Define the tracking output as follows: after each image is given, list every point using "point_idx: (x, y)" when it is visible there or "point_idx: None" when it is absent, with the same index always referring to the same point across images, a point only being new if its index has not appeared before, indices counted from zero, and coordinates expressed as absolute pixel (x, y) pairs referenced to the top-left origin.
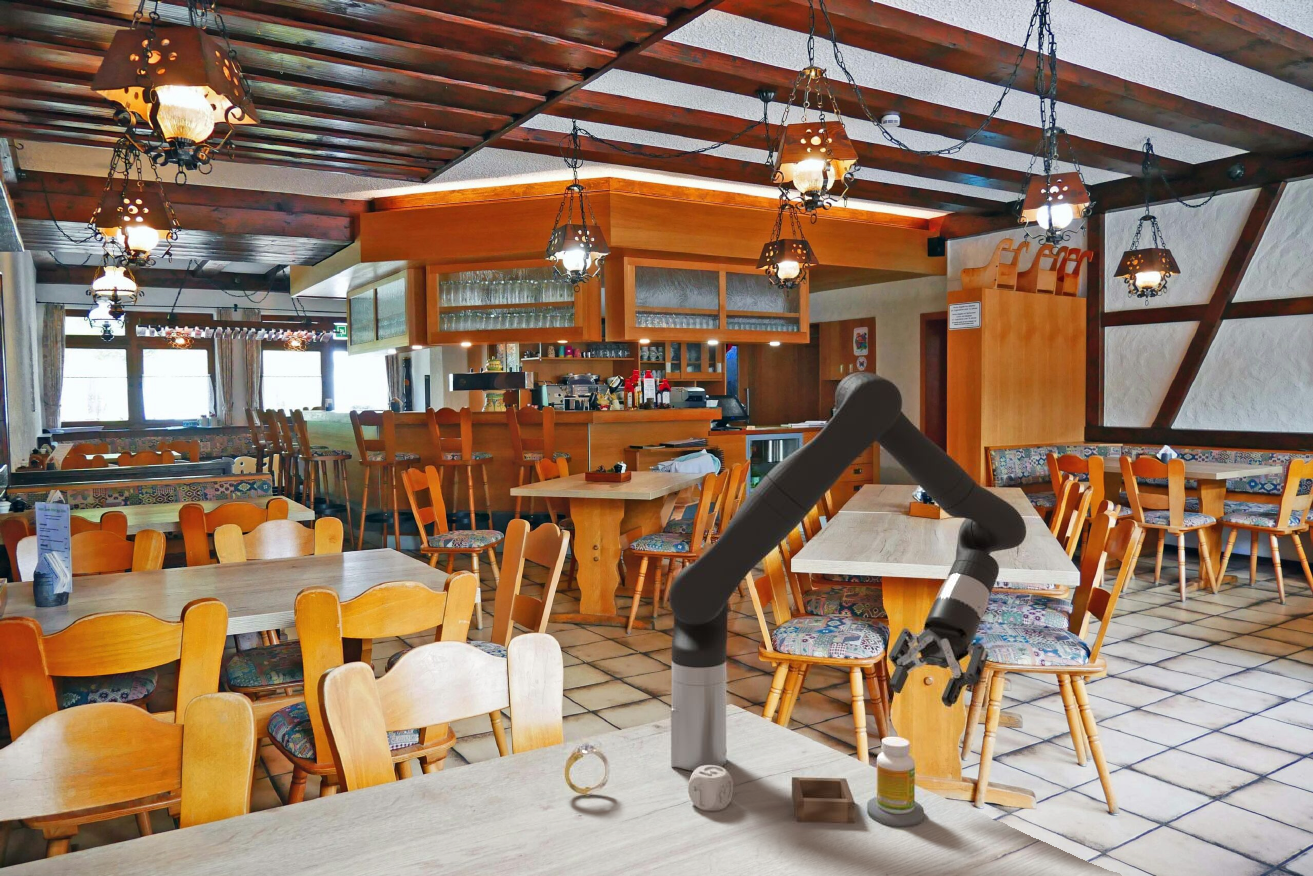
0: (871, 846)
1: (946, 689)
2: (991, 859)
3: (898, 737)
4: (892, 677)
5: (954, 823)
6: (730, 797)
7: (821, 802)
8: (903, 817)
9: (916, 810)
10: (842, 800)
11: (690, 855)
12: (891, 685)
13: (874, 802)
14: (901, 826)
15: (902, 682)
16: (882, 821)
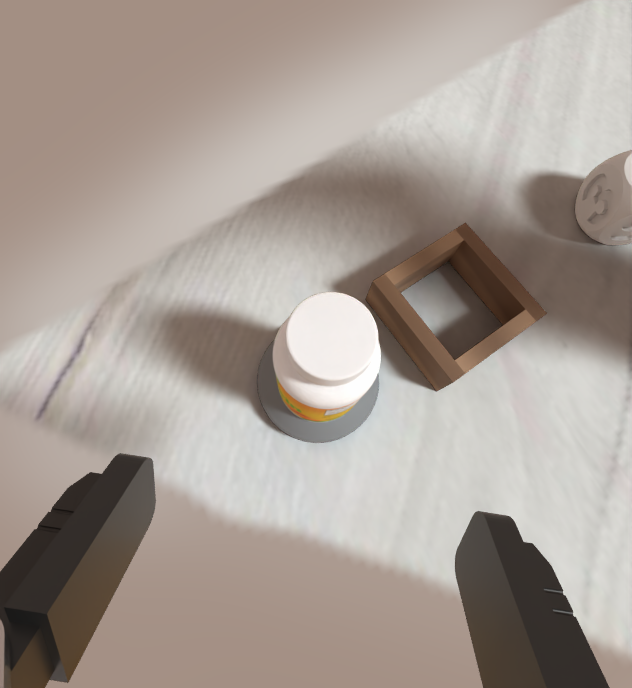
0: (300, 240)
1: (103, 506)
2: (99, 316)
3: (340, 374)
4: (556, 593)
5: (198, 419)
6: (589, 227)
7: (426, 247)
8: None
9: (274, 392)
10: (396, 274)
11: (499, 80)
12: (505, 516)
13: None
14: None
15: (480, 619)
16: None
